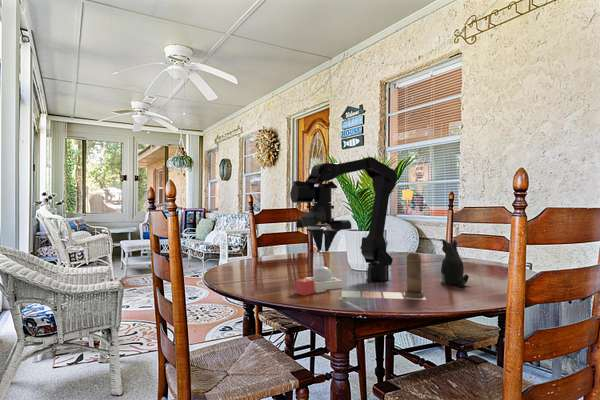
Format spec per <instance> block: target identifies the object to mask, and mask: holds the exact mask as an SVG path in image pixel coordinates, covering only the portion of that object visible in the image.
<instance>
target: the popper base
mask: <svg viewBox="0 0 600 400" xmlns="http://www.w3.org/2000/svg"><path fill="white" fill-rule="evenodd" d="M332 277H333V281H324V282H316V281H314V293H315V294H316V293H327V292H329V290H334V289H335V290H336V289H337V290H338V289H343V280H342V279H339V278H336V277H335V276H332ZM305 278H306V279H310V280H314V276H309V277H308V276H307V277H305Z"/></svg>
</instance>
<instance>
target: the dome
mask: <svg viewBox="0 0 600 400" xmlns="http://www.w3.org/2000/svg"><path fill="white" fill-rule="evenodd" d="M332 273H333V272H332V271H331V269H330V268H328V267H327V266H319V267H318V268H317V269H316V270H315V271H314V276H313V277H314V281H316V282H324V281H333V277H334V276H333V274H332Z"/></svg>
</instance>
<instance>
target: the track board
mask: <svg viewBox="0 0 600 400" xmlns="http://www.w3.org/2000/svg"><path fill="white" fill-rule="evenodd" d="M361 294H362V295H361ZM361 296H362V299H388V300H389V299H392V300H396V299H397V300H404V299H405V300H419V301H420V300H421V301H422V300H423V301H424V300H425V301H427V299H426V297H425V296H424V297H423V298H410V297H406V296H405V292H403V293H402V292H398V291H397V292H393V291H392V292H391V291H382V292H381V291H366V290H365V291H362V293H361V291H360V290H358V291H357V290H341V295H340V296H339V301H348V300H347V299H345V298H354V299H355V298H359V299H360V298H361Z"/></svg>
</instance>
